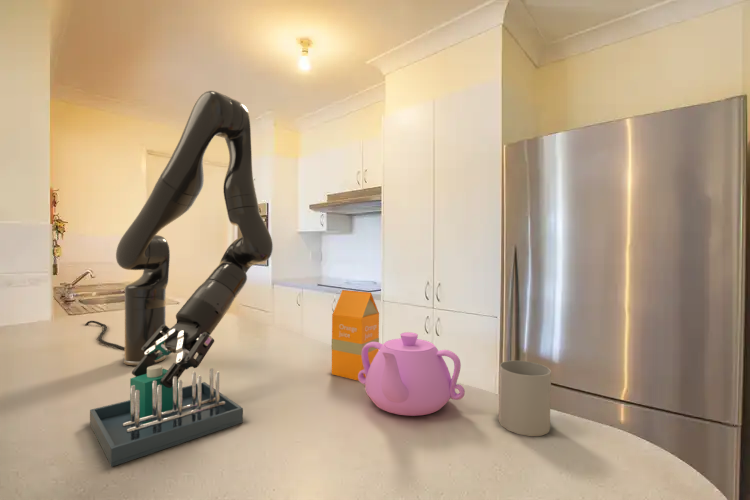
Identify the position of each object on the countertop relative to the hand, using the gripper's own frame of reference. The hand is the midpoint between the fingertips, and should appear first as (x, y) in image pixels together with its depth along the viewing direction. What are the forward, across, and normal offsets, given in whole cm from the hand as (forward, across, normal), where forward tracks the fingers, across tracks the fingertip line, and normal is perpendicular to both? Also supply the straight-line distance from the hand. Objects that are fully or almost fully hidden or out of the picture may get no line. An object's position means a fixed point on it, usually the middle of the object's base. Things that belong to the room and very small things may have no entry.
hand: (150, 381), depth 67 cm
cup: (-18, +58, +27) cm, 67 cm away
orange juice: (-23, +19, +32) cm, 44 cm away
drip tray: (+4, +4, +5) cm, 8 cm away
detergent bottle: (+4, 0, +5) cm, 6 cm away
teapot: (-14, +37, +24) cm, 47 cm away
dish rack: (+5, +9, +4) cm, 11 cm away
